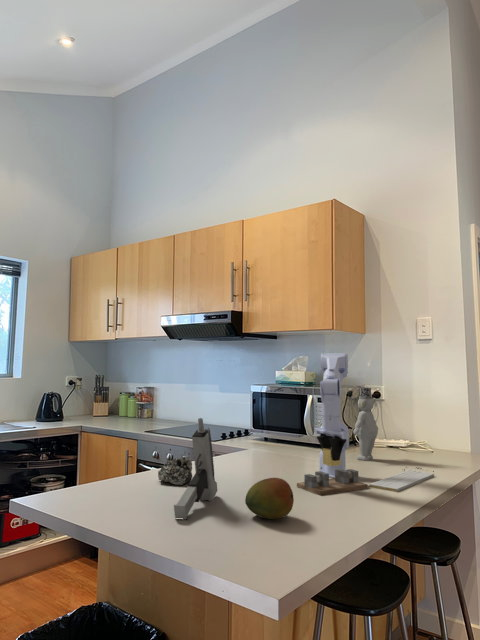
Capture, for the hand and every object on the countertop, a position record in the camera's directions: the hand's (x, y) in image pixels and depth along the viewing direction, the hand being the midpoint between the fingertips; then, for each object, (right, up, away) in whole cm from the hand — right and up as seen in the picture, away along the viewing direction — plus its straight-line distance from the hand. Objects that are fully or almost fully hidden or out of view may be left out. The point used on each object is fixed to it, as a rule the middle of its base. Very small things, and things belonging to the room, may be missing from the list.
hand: (331, 459), depth 155 cm
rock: (-51, -10, +5) cm, 52 cm away
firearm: (-41, -7, -23) cm, 48 cm away
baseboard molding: (+25, -11, +9) cm, 29 cm away
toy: (+24, -14, +48) cm, 56 cm away
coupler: (0, -2, 0) cm, 2 cm away
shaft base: (0, -9, -1) cm, 9 cm away
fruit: (-22, -6, -33) cm, 40 cm away
